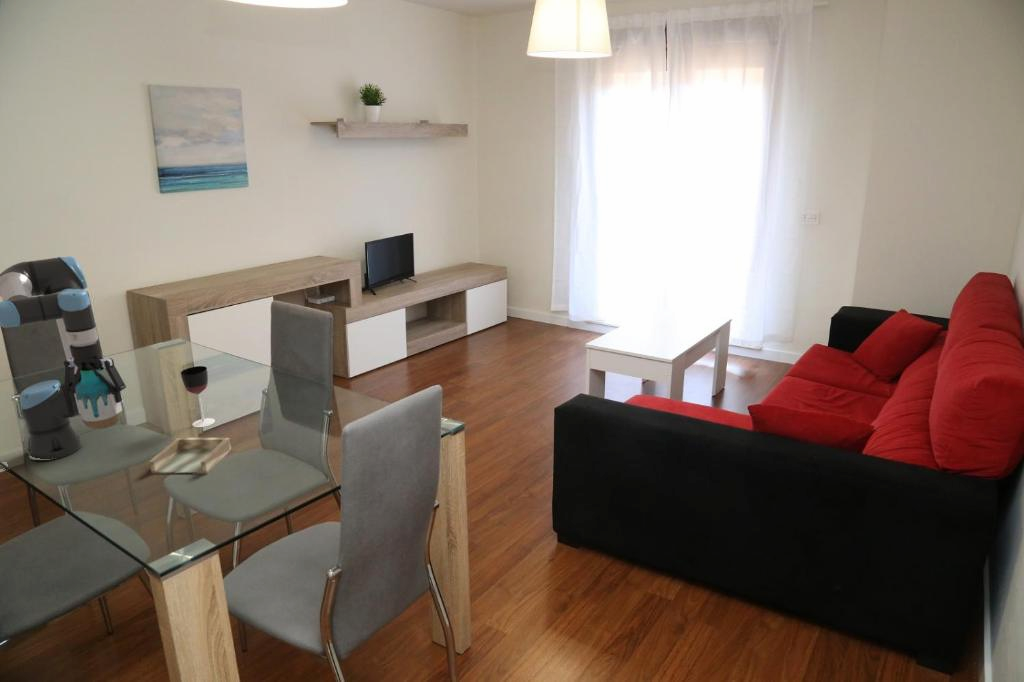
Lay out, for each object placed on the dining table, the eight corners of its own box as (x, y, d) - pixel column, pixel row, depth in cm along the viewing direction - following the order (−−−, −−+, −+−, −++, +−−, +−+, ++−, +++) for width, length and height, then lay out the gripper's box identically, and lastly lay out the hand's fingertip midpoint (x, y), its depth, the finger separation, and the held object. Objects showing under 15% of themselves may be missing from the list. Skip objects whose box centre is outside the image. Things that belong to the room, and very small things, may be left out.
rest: (151, 473, 215) (148, 461, 213) (179, 448, 230) (177, 437, 229) (207, 473, 213) (205, 462, 212) (232, 448, 229) (230, 437, 228)
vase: (106, 435, 206) (92, 375, 199) (76, 433, 208) (60, 373, 201) (132, 420, 215) (118, 362, 209) (102, 418, 217) (88, 360, 211)
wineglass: (221, 419, 251) (211, 367, 245) (202, 429, 244) (191, 376, 238) (205, 416, 255) (195, 365, 248) (185, 425, 247) (175, 373, 241)
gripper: (37, 347, 200) (56, 416, 207) (113, 346, 198) (129, 417, 205) (55, 338, 207) (73, 406, 214) (129, 338, 205) (144, 406, 213)
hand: (100, 411), depth 210 cm, fingers closed on vase, 10 cm apart
